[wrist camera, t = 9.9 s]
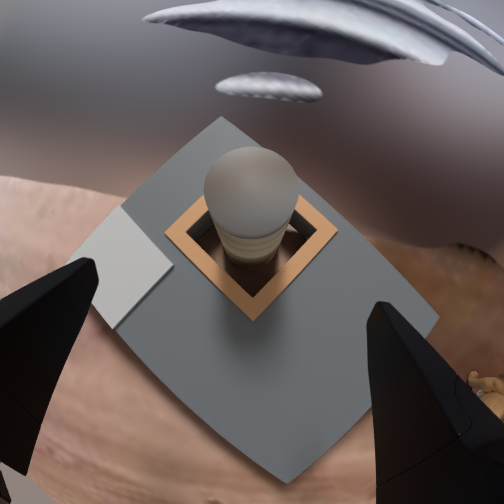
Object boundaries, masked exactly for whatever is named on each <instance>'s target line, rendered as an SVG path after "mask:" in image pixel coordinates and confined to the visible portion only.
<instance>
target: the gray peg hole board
mask: <svg viewBox="0 0 504 504" xmlns="http://www.w3.org/2000/svg"><path fill="white" fill-rule="evenodd" d="M242 147H260V148H262V147H261V146H260V145H258V144H257V143H256V142H255V141H253V140H252V139H251V138H249V137H248V136H247V135H246V134H244V133H243V132H242V131H240V130H239V129H238V128H237V127H235V126H234V125H233V124H231V123H230V122H228V121H227V120H226V119H225V118H223V117H219V118H218V119H217V120H216V121H214V122H213V123H212V124H211V125H209V126H208V127H207V128H206V129H205V130H203V131H202V132H201V133H199V134H198V135H197V136H196V137H195V138H194V139H192V140H191V141H190V142H189V143H187V144H186V145H185V146H184V147H183V148H182V149H180V150H179V151H178V152H177V153H176V154H175V155H174V156H173V157H171V158H170V159H169V160H168V161H167V162H166V163H165V164H164V165H163V166H161V167H160V169H158V170H157V171H156V172H155V173H154V174H153V175H152V176H151V177H150V178H149V179H147V180H146V181H145V182H144V183H143V184H142V185H141V186H140V187H139V188H138V189H137V190H136V191H135V192H134V193H133V194H132V195H131V196H130V197H129V198H128V199H127V200H126V201H125V202H124V203H123V204H122V205H121V206H120V205H118V206H117V207H116V208H115V209H114V210H113V211H112V212H111V213H110V214H109V215H108V216H107V217H106V218H105V219H104V221H103V222H102V223H101V224H100V225H99V226H98V227H97V228H96V229H95V230H94V231H93V233H92V234H91V235H90V236H89V237H88V238H87V239H86V240H85V242H84V243H83V244H82V245H81V246H80V247H79V248H78V250H77V251H76V252H75V253H74V254H73V255H72V257H71V258H70V259H69V260H68V261H67V263H66V264H65V265H67V264H69V263H71V262H73V261H75V260H77V259H79V258H81V257H87V258H92V259H94V261H95V264H96V268H97V272H98V277H99V284H98V287H97V290H96V292H95V295H94V297H93V300H92V304H93V305H94V307H95V308H96V309H97V311H98V312H99V313H100V314H101V316H102V317H103V318H104V320H105V321H106V322H107V323H108V324H109V326H110V327H111V328H112V329H115V330H116V332H117V333H118V334H119V335H120V336H121V338H122V339H123V340H124V341H125V342H126V343H127V345H128V346H129V347H130V348H131V349H132V350H133V351H134V352H135V354H136V355H137V356H138V357H139V358H140V359H141V360H142V361H143V362H144V363H145V364H146V366H147V367H148V368H149V369H150V370H151V371H152V372H153V373H154V374H155V375H156V376H157V377H158V378H159V379H160V380H161V381H162V382H163V383H164V384H165V385H166V386H167V387H168V388H169V389H170V390H171V391H172V392H173V393H174V394H175V395H176V396H177V397H178V398H179V399H180V400H181V401H182V402H183V403H184V404H186V405H187V406H188V407H189V408H190V409H191V410H192V411H193V412H194V413H195V414H197V415H198V416H199V417H200V418H201V419H202V420H203V421H204V422H206V423H207V424H208V425H209V426H210V427H211V428H213V429H214V430H215V431H216V432H217V433H218V434H220V435H221V436H222V437H223V438H225V439H226V440H227V441H228V442H229V443H231V444H232V445H233V446H235V447H236V448H237V449H238V450H240V451H241V452H242V453H244V454H245V455H246V456H248V457H249V458H250V459H252V460H253V461H254V462H256V463H257V464H258V465H260V466H261V467H263V468H264V469H265V470H267V471H268V472H270V473H271V474H273V475H274V476H275V477H277V478H278V479H280V480H281V481H283V482H284V483H286V484H288V483H289V482H291V481H292V480H293V479H294V478H296V477H297V476H298V475H299V474H301V473H302V472H303V471H304V470H306V469H307V468H308V467H309V466H310V465H311V464H313V463H314V462H315V461H316V460H317V459H318V458H319V457H321V456H322V455H323V454H324V453H325V452H326V451H327V450H328V449H329V448H331V447H332V446H333V445H334V444H335V443H336V442H337V441H338V440H339V439H340V438H341V437H342V436H343V435H344V434H345V433H346V432H347V431H348V430H349V429H350V428H351V427H352V426H353V425H354V424H355V423H356V422H357V421H358V420H359V419H360V418H361V417H362V416H363V415H364V414H365V413H366V411H367V410H368V409H369V408H370V407H371V406H372V404H371V394H370V385H369V377H368V365H367V332H366V324H367V320H368V317H369V315H370V313H371V311H372V309H373V307H374V305H375V303H376V302H378V301H384V302H389V303H391V304H392V305H393V306H394V307H395V308H396V309H397V310H398V311H399V312H400V313H401V314H402V315H403V316H404V317H405V319H406V320H407V321H408V322H409V323H410V324H411V325H412V326H413V327H414V328H415V329H416V330H417V331H418V332H419V333H420V334H421V335H422V336H423V337H424V338H426V337H427V335H428V334H429V332H430V331H431V329H432V328H433V326H434V325H435V323H436V322H437V320H438V319H439V316H438V315H437V314H436V312H435V311H434V310H433V309H432V308H431V307H430V306H429V304H428V303H427V302H426V301H425V300H424V299H423V298H422V297H421V296H420V294H419V293H418V292H417V291H416V290H415V289H414V288H413V287H412V286H411V285H410V284H409V283H408V281H407V280H406V279H405V278H404V277H403V276H402V275H401V274H400V273H399V272H398V271H397V270H396V269H395V268H394V267H393V266H392V265H391V264H390V263H389V262H388V261H387V260H386V259H385V258H384V257H383V256H382V255H381V254H380V253H379V252H378V251H377V250H376V249H375V248H374V247H373V246H372V245H371V244H370V243H369V242H368V241H367V240H366V239H365V238H364V237H363V236H362V235H361V234H360V233H359V232H358V231H357V230H356V229H355V228H354V227H353V226H352V225H351V224H350V223H348V221H346V220H345V219H344V218H343V217H342V216H341V215H340V214H339V213H338V212H337V211H336V210H335V209H333V208H332V207H331V206H330V205H329V204H328V203H327V202H326V201H325V200H324V199H322V198H321V197H320V196H319V195H318V194H317V193H316V192H315V191H313V190H312V189H311V188H310V187H309V186H308V185H307V184H305V183H304V182H303V181H302V180H301V179H300V178H298V177H297V179H298V183H299V197H298V201H297V204H296V207H295V209H294V212H293V214H292V216H291V219H290V221H289V224H290V225H291V226H292V227H293V228H294V229H296V230H297V231H298V232H299V233H300V234H301V235H302V236H303V237H304V238H305V239H306V240H307V242H306V243H305V244H304V245H303V246H302V247H301V248H300V249H299V250H298V251H297V252H296V253H295V254H294V255H293V257H292V258H291V259H290V260H289V261H288V262H287V263H286V264H285V265H284V266H283V267H282V268H281V269H280V270H279V271H278V272H277V273H276V274H275V276H274V277H273V278H272V279H271V280H270V281H269V282H268V283H267V284H266V285H265V286H264V287H263V288H262V289H261V290H260V291H259V292H258V293H257V294H256V295H255V296H254V297H253V298H252V297H251V296H250V295H249V294H248V293H247V292H246V291H245V290H244V289H243V288H242V287H241V286H240V285H238V284H237V283H236V282H235V281H234V280H233V279H232V278H231V277H230V276H229V275H228V274H227V273H226V272H225V271H224V270H223V269H222V268H221V267H220V266H219V265H218V264H217V263H216V262H215V261H214V260H213V259H212V258H211V257H210V256H209V255H208V254H207V253H206V252H205V251H204V250H203V249H202V248H201V247H200V246H199V245H198V244H197V243H196V241H197V240H198V239H199V238H200V237H201V236H202V235H203V234H204V233H205V232H206V231H207V230H208V229H209V228H210V227H211V226H212V225H213V224H214V222H213V220H212V217H211V215H210V212H209V210H208V207H207V205H206V202H205V198H204V182H205V178H206V175H207V173H208V171H209V169H210V168H211V166H212V165H213V164H214V163H215V161H216V160H218V159H219V158H220V157H221V156H223V155H224V154H226V153H228V152H229V151H232V150H234V149H238V148H242Z"/></svg>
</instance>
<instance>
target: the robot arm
mask: <svg viewBox="0 0 504 504" xmlns="http://www.w3.org/2000/svg"><path fill="white" fill-rule="evenodd" d="M98 284H99V277H98V272H97V268H96V264H95V261H94V259H92V258H87V257H81V258H79V259H77V260H75V261H73V262H71V263H69V264H67V265H65V266H63V267H61V268H59V269H57V270H55V271H53V272H51V273H49V274H47V275H45V276H43V277H41V278H39V279H37V280H35V281H33V282H32V283H30V284H28V285H26V286H24V287H22V288H20V289H18V290H17V291H15V292H13V293H11V294H9V295H8V296H6V297H4V298H2V299H1V300H0V463H1V462H3V463H4V464H5V465H7V466H9V467H10V468H12V469H14V470H15V471H17V472H19V473H21V474H22V475H24V476H26V474H27V472H28V468H29V464H30V461H31V457H32V454H33V450H34V447H35V444H36V440H37V437H38V434H39V431H40V428H41V425H42V422H43V419H44V416H45V413H46V410H47V408H48V405H49V402H50V400H51V397H52V394H53V392H54V389H55V387H56V384H57V382H58V379H59V377H60V374H61V372H62V370H63V367H64V365H65V363H66V360H67V358H68V356H69V354H70V351H71V349H72V347H73V345H74V343H75V340H76V338H77V336H78V334H79V332H80V330H81V328H82V325H83V323H84V321H85V318H86V316H87V313H88V310H89V308H90V305H91V303H92V300H93V297H94V295H95V292H96V290H97V287H98ZM366 332H367V365H368V377H369V385H370V394H371V404H372V414H373V427H374V441H375V460H376V486H377V487H376V504H504V423H503V422H502V421H501V420H500V419H499V418H498V417H497V415H496V414H495V413H494V412H493V411H492V410H491V409H490V408H489V407H488V406H487V405H486V404H485V403H484V402H483V401H482V400H481V399H480V398H479V397H478V396H477V395H476V394H475V393H474V392H473V391H472V390H471V389H470V388H469V387H468V385H467V384H466V383H465V382H464V381H463V380H462V379H461V378H460V376H459V375H456V372H455V371H454V370H453V369H452V368H451V366H450V365H449V364H448V363H447V362H446V361H445V360H444V359H443V358H442V357H441V355H440V354H439V353H438V352H437V351H436V350H435V349H434V348H433V347H432V346H431V345H430V344H429V343H428V341H427V340H426V339H425V338H424V337H423V336H422V335H421V334H420V333H419V332H418V331H417V330H416V329H415V328H414V327H413V326H412V325H411V324H410V323H409V322H408V321H407V320H406V319H405V317H404V316H403V315H402V314H401V313H400V312H399V311H398V310H397V309H396V308H395V307H394V306H393V305H392V304H391V303H389V302H384V301H378V302H376V303H375V305H374V307H373V309H372V311H371V313H370V315H369V317H368V320H367V324H366ZM10 503H11V498H10V495H9V493H8V490H7V487H6V484H5V481H4V478H3V475H2V472H1V470H0V504H10Z"/></svg>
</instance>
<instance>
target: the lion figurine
mask: <svg viewBox="0 0 504 504" xmlns="http://www.w3.org/2000/svg"><path fill="white" fill-rule="evenodd" d="M468 385H469V386H470V387H474V388H481V390H479V391H478V392H477V394H476V395H477V396H478V397H479V398H480V399H481V400H482V401H483V402H484V403H485V404H486V405H487V406H488V407H489V408H490V409H491V410H492V411H493V412H494V413H495V414H496V415H497V417H498V418H499V419H500V420H501V421H502V422H504V372H503V373H502V374H501V375H499V377H498V378H495V377H485V378H480V379H478V373H477V372H476V371H471V372H470V374H469V376H468ZM485 393H486V394H485Z"/></svg>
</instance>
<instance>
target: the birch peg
mask: <svg viewBox="0 0 504 504" xmlns="http://www.w3.org/2000/svg"><path fill="white" fill-rule="evenodd" d="M298 197H299V183H298V179H297V176H296V174H295V172H294V170H293V168H292V167H291V165H290V164H289V163H288V162H287V161H286V160H285V159H284V158H283V157H281V156H280V155H279V154H277V153H275V152H273V151H271V150H268V149H264V148H260V147H242V148H238V149H234V150H232V151H229V152H228V153H226V154H224V155H223V156H221V157H220V158H219V159H218V160H216V161H215V163H214V164H213V165H212V166H211V168H210V169H209V171H208V173H207V175H206V178H205V182H204V198H205V202H206V205H207V207H208V210H209V212H210V215H211V217H212V220H213V222H214V225H215V227H216V230H217V232H218V235H219V237H220V240H221V242H222V245H223V247H224V250H225V252H226V254H227V256H228V258H229V259H230V260H231V261H232V262H233V263H234V264H236V265H237V266H239V267H241V268H245V269H257V268H261V267H263V266H265V265H266V264H268V263H269V262H270V261H271V260H272V259H273V257H274V256H275V254H276V252H277V250H278V247H279V245H280V242H281V240H282V238H283V235H284V233H285V231H286V228H287V226H288V224H289V221H290V219H291V216H292V214H293V212H294V209H295V207H296V204H297V201H298Z"/></svg>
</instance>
